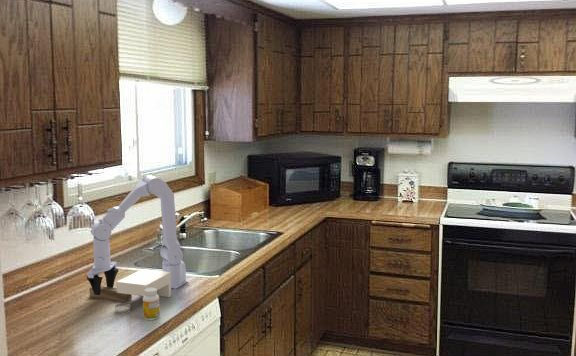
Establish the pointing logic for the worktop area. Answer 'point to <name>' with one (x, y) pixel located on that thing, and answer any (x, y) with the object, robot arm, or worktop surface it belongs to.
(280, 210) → the worktop surface
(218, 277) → the worktop surface
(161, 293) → the cream step stool
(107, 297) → the tan long block
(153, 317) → the supplement bottle
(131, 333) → the worktop surface
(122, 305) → the clear glass cup
